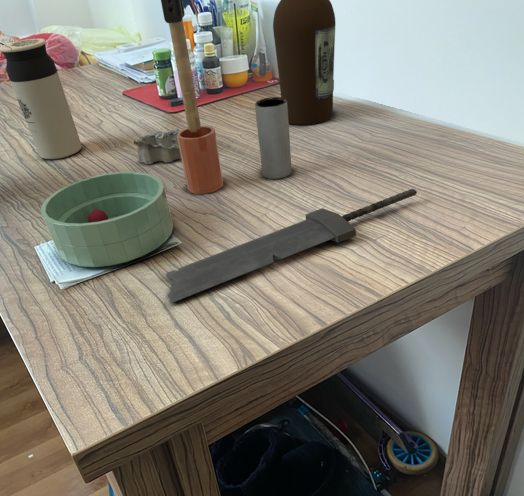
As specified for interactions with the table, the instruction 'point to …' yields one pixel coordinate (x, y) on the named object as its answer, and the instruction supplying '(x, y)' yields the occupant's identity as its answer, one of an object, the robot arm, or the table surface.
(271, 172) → the grey tube
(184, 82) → the wooden stick
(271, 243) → the toy broadsword
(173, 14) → the robot arm
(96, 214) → the bead
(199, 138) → the utensil pot
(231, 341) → the table surface
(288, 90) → the olive oil
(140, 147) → the egg carton
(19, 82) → the travel mug
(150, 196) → the bowl
